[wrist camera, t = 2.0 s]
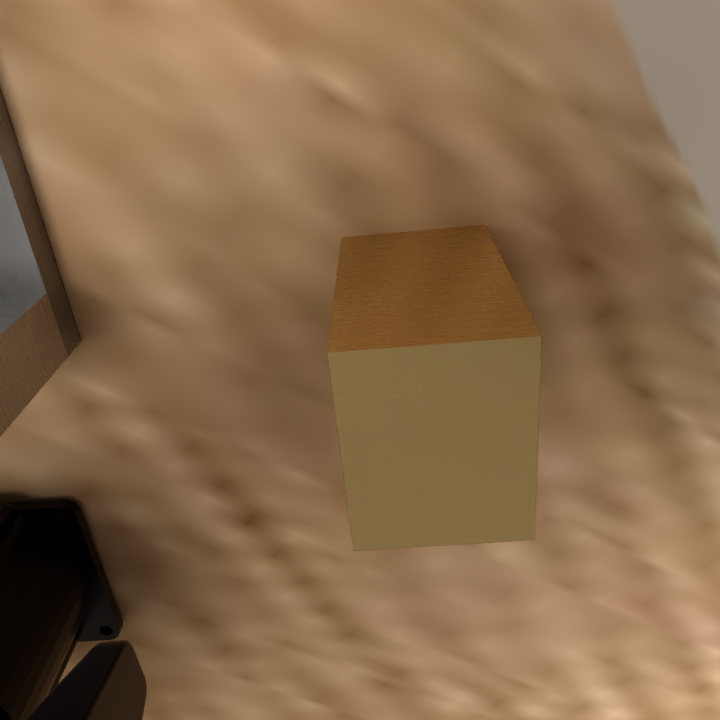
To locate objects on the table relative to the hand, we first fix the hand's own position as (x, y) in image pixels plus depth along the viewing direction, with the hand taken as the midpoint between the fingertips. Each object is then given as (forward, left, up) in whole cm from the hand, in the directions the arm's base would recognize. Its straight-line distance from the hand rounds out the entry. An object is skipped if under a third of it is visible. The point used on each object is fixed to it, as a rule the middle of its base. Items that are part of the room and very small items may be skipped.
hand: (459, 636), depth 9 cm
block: (-1, 0, -12) cm, 12 cm away
